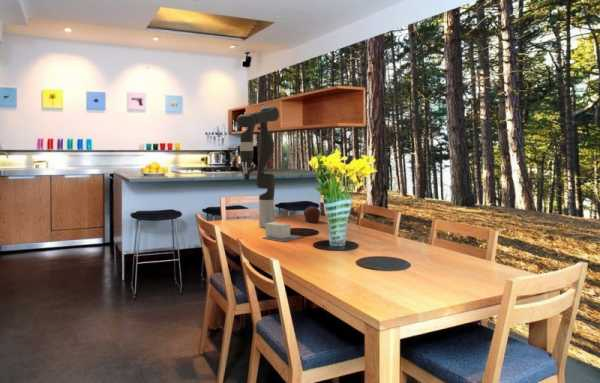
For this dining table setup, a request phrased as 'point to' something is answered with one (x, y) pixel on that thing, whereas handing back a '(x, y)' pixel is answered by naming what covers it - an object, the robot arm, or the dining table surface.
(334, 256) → the dining table surface
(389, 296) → the dining table surface
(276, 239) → the mat
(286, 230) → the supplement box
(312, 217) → the muffin
